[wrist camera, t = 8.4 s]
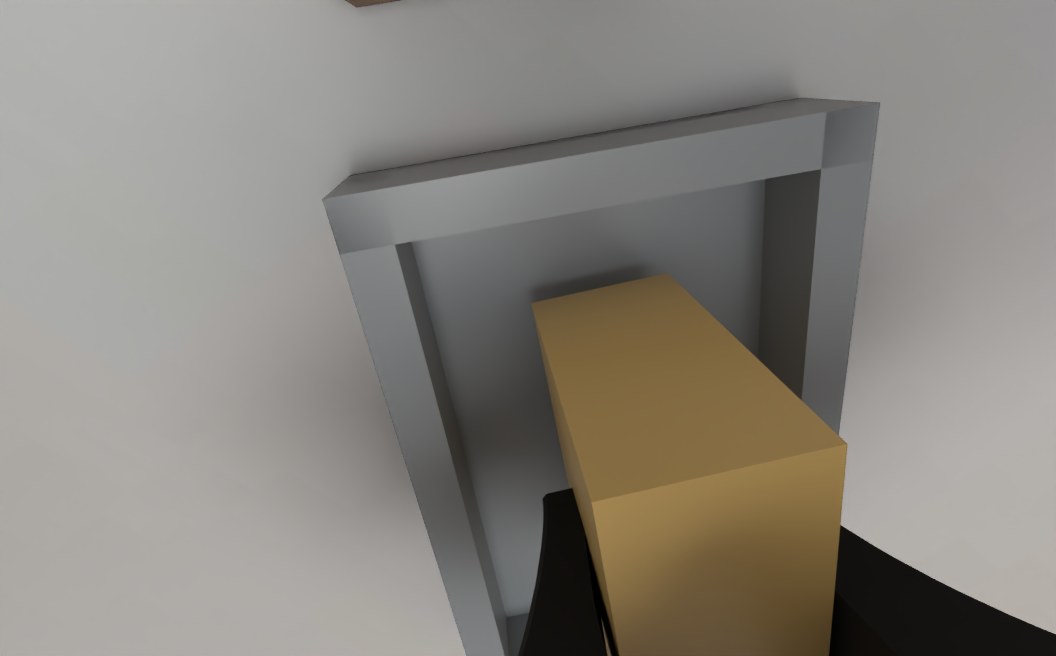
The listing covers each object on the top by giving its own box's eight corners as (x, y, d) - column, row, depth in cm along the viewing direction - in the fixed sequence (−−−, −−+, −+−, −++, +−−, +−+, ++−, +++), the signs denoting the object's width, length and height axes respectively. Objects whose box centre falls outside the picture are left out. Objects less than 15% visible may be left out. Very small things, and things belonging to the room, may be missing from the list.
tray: (801, 97, 12) (880, 102, 10) (770, 570, 18) (812, 639, 16) (349, 175, 12) (322, 199, 9) (480, 629, 18) (483, 708, 16)
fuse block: (667, 273, 12) (847, 444, 6) (689, 538, 15) (816, 797, 10) (531, 302, 12) (591, 503, 6) (584, 562, 15) (653, 836, 10)
